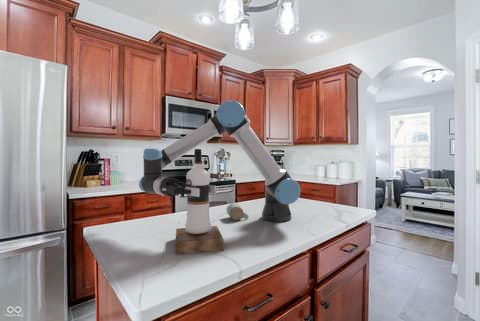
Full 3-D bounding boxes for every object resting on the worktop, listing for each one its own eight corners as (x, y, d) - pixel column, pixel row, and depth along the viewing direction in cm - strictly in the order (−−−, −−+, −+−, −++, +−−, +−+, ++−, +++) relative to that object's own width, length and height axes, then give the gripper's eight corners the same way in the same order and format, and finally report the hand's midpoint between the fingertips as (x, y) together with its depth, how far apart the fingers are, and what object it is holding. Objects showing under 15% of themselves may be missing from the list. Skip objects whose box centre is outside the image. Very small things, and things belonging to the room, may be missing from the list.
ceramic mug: (230, 221, 121) (230, 205, 120) (226, 217, 128) (226, 202, 128) (250, 220, 123) (250, 205, 123) (245, 216, 131) (246, 202, 131)
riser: (216, 235, 99) (216, 225, 99) (223, 250, 84) (223, 238, 84) (176, 238, 96) (176, 228, 95) (175, 255, 80) (175, 242, 80)
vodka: (215, 231, 89) (215, 148, 88) (191, 236, 83) (191, 148, 82) (203, 225, 96) (203, 149, 95) (181, 229, 91) (180, 149, 90)
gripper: (186, 192, 108) (226, 197, 95) (144, 199, 92) (184, 206, 78) (186, 175, 108) (226, 178, 95) (144, 179, 91) (184, 183, 78)
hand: (207, 191), depth 86 cm, fingers closed on vodka, 8 cm apart
